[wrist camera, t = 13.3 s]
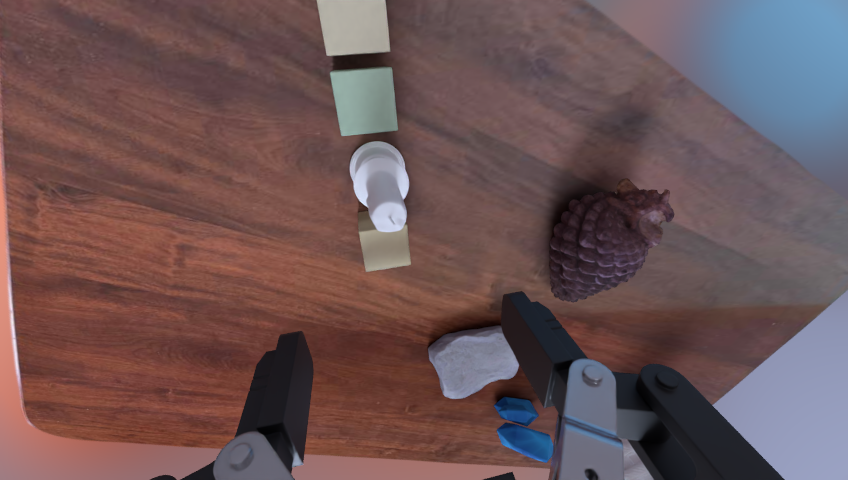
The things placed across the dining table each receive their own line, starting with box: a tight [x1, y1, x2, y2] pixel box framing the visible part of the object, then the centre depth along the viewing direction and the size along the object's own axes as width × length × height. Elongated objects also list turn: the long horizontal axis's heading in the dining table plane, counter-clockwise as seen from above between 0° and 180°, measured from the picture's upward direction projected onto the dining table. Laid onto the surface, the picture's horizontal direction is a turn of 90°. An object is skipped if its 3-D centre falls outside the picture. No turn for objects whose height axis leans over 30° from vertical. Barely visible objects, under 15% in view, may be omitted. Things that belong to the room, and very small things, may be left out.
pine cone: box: [549, 178, 674, 302], centre depth 36 cm, size 18×10×10 cm
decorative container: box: [618, 438, 654, 480], centre depth 56 cm, size 12×12×18 cm
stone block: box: [428, 325, 519, 399], centre depth 45 cm, size 12×5×10 cm
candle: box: [350, 141, 409, 232], centre depth 27 cm, size 5×5×12 cm
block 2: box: [330, 66, 398, 136], centre depth 26 cm, size 4×4×4 cm
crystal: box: [494, 397, 554, 463], centre depth 52 cm, size 7×9×12 cm
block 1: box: [317, 0, 390, 56], centre depth 24 cm, size 4×4×4 cm
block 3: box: [358, 211, 411, 272], centre depth 33 cm, size 4×4×4 cm
